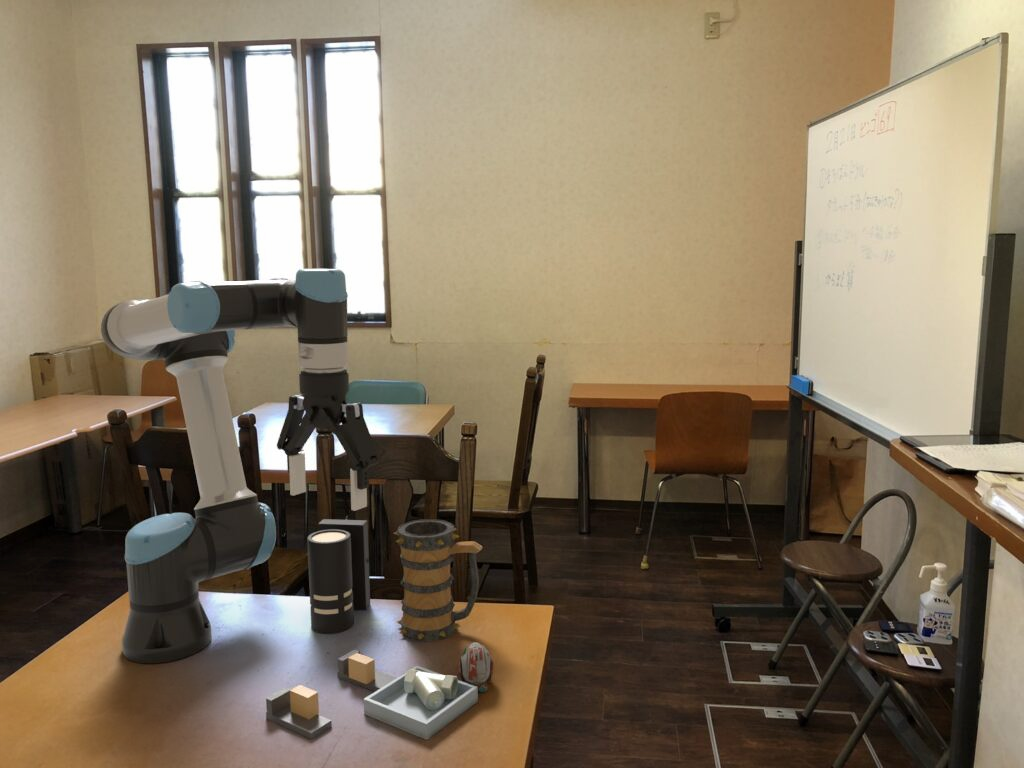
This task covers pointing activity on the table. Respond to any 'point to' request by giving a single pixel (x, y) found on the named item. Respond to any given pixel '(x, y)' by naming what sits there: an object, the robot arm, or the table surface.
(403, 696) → the parts tray
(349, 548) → the light fixture
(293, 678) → the table surface
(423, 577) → the mug
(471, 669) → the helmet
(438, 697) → the pipe fitting
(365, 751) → the table surface
